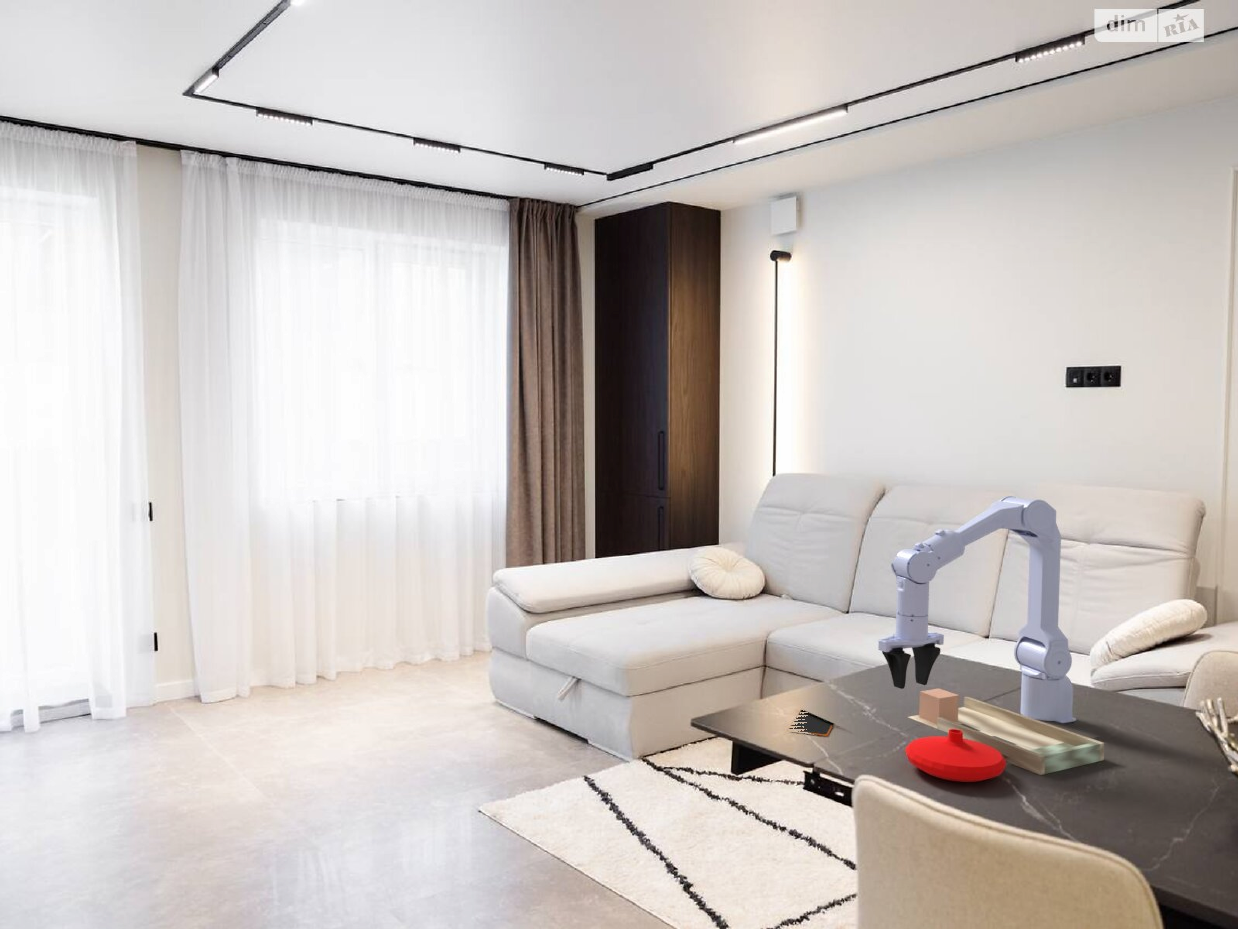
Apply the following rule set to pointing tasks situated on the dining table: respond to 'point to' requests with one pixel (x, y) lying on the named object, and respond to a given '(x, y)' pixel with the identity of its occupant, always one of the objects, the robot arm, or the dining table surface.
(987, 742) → the tray
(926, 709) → the peach block
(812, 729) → the smartphone
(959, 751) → the red disc with nozzle
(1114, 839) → the dining table surface
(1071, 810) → the dining table surface
